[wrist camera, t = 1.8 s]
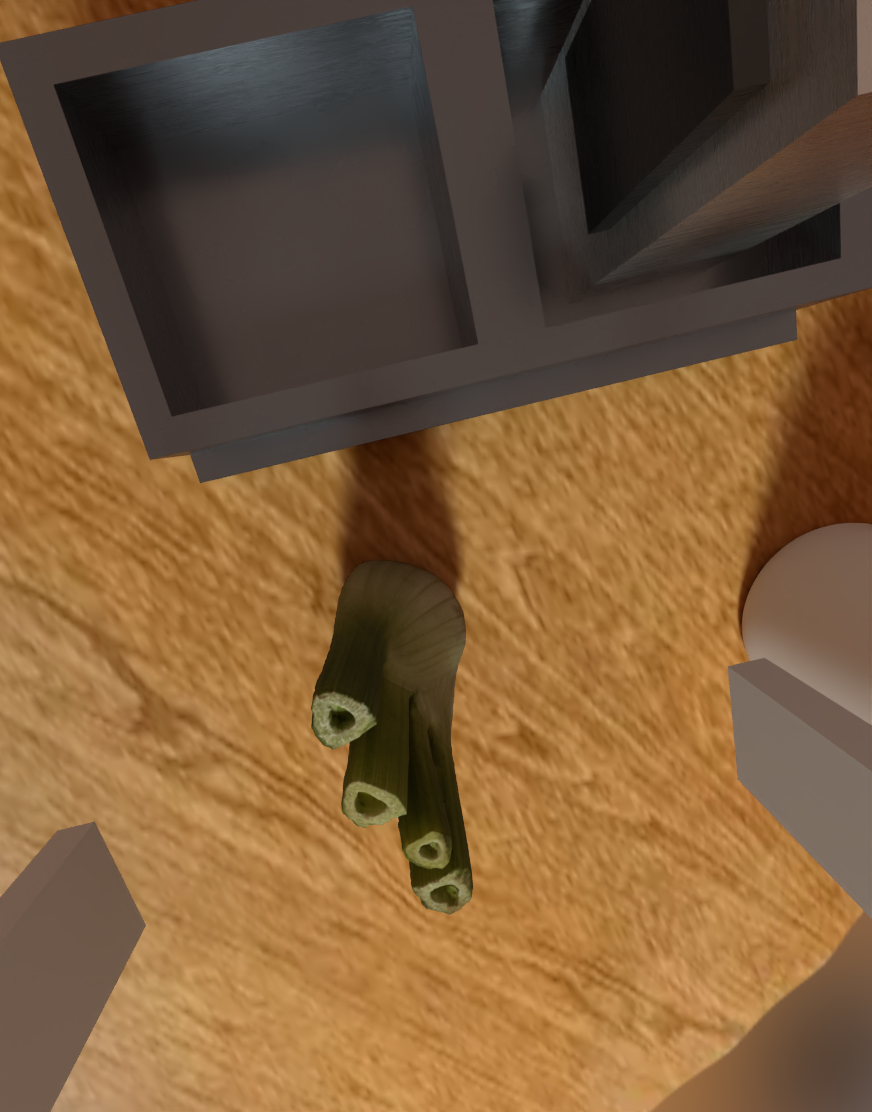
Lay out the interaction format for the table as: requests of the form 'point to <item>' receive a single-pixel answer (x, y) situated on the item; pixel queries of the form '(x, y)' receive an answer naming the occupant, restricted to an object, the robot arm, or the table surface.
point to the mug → (818, 613)
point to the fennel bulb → (399, 718)
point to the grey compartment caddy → (442, 201)
